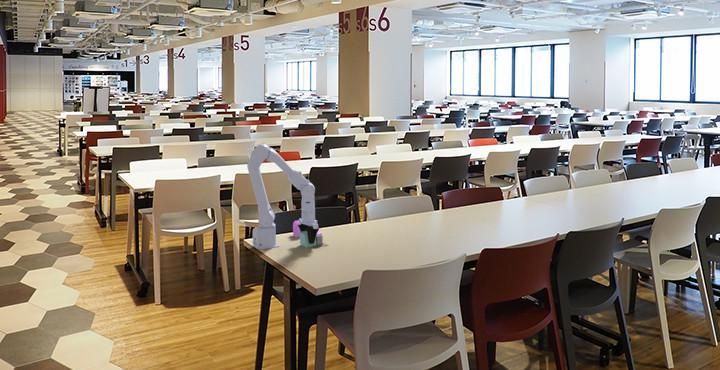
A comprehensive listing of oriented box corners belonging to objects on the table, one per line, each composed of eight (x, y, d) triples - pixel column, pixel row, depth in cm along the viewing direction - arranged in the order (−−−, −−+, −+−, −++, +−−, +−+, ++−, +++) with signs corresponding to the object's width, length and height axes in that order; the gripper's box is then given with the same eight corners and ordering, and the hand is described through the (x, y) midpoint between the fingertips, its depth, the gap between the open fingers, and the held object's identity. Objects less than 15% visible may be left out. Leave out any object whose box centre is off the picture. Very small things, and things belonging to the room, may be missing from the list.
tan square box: (315, 248, 269) (315, 238, 268) (308, 244, 274) (308, 235, 273) (328, 246, 272) (328, 236, 271) (321, 243, 277) (321, 233, 277)
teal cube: (305, 247, 268) (304, 234, 267) (300, 245, 273) (299, 232, 272) (316, 245, 271) (315, 231, 270) (311, 243, 275) (309, 229, 274)
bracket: (295, 238, 287) (294, 223, 286) (293, 235, 292) (292, 220, 291) (323, 236, 290) (322, 221, 289) (320, 233, 296) (320, 219, 294)
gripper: (324, 213, 266) (324, 244, 268) (308, 207, 278) (309, 237, 280) (309, 214, 262) (309, 246, 264) (294, 209, 274) (294, 239, 276)
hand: (308, 242), depth 272 cm, fingers closed on teal cube, 5 cm apart
